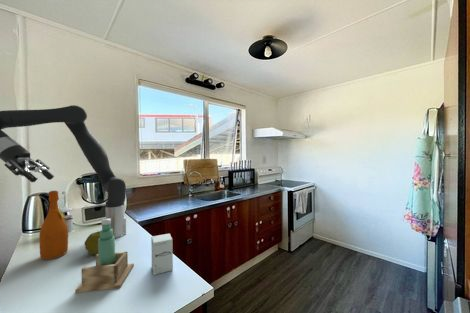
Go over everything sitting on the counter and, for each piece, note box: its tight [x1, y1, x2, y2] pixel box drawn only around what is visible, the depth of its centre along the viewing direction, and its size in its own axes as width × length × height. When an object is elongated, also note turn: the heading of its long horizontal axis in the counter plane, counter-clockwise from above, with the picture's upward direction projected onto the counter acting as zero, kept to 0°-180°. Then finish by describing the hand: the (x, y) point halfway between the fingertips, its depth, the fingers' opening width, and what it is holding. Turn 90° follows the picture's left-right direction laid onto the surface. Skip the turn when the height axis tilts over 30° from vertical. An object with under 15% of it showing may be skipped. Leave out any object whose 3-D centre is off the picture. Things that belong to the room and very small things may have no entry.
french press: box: [59, 191, 76, 235], centre depth 120 cm, size 10×12×25 cm
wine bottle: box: [38, 190, 69, 260], centre depth 93 cm, size 10×10×30 cm
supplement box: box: [151, 233, 174, 276], centre depth 81 cm, size 7×7×13 cm
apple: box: [84, 230, 101, 256], centre depth 95 cm, size 10×10×11 cm
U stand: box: [74, 251, 135, 294], centre depth 75 cm, size 14×14×7 cm
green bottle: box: [98, 218, 116, 266], centre depth 75 cm, size 5×5×21 cm
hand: (44, 179), depth 80 cm, fingers open, 8 cm apart
